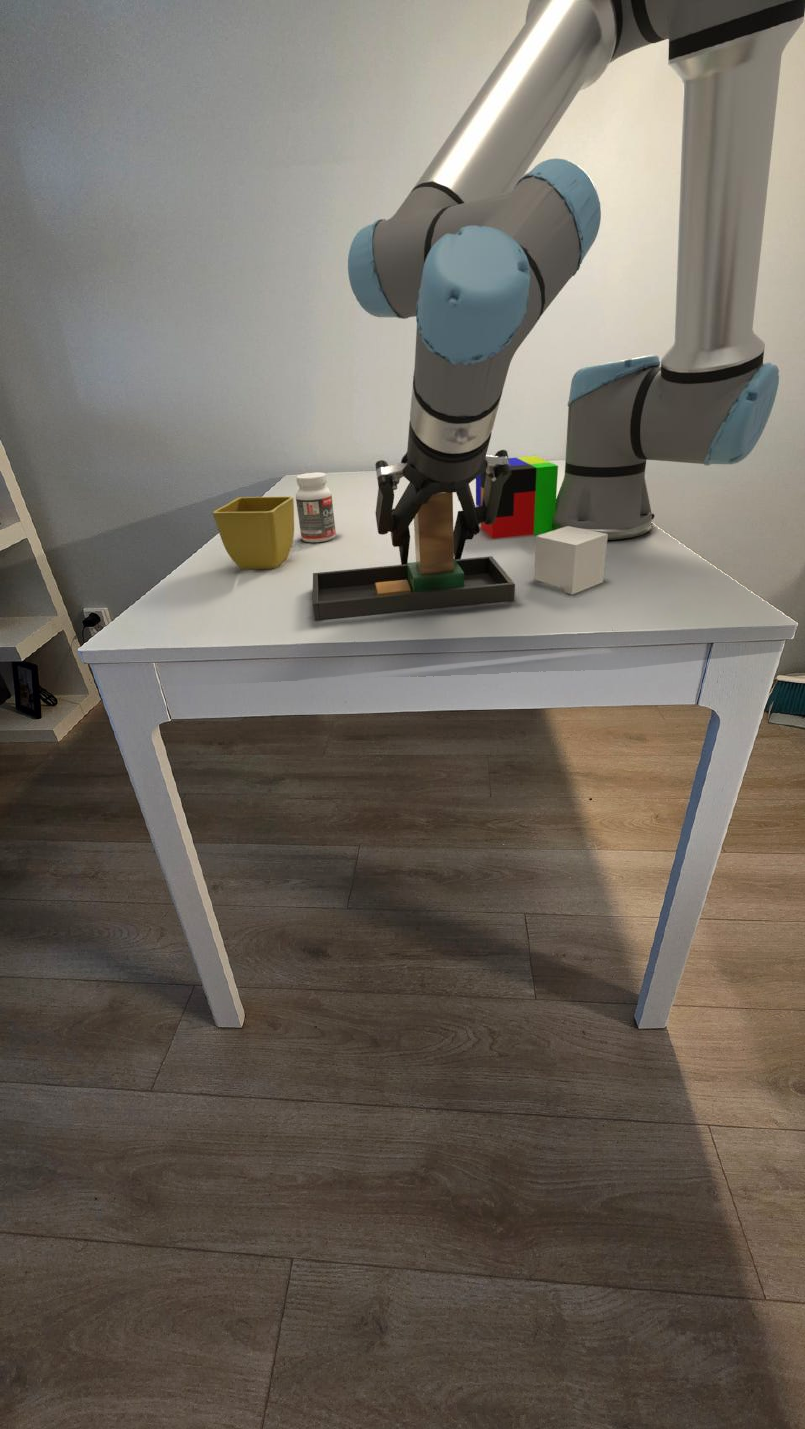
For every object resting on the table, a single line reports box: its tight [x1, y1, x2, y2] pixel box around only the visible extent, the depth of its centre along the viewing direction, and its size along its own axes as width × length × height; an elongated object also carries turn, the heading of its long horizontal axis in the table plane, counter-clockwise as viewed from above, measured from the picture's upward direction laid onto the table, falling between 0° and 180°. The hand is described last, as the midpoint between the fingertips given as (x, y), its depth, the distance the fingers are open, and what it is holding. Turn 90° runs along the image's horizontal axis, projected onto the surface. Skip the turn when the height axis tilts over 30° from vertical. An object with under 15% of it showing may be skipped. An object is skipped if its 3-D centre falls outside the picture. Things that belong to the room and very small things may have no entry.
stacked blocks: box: [407, 492, 464, 592], centre depth 75 cm, size 6×6×12 cm
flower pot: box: [212, 496, 295, 570], centre depth 92 cm, size 9×9×9 cm
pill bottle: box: [295, 471, 337, 543], centre depth 103 cm, size 6×6×10 cm
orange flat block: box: [375, 580, 411, 596], centre depth 78 cm, size 4×4×1 cm
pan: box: [312, 555, 516, 622], centre depth 78 cm, size 23×11×3 cm, turn 97°
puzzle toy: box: [475, 455, 559, 540], centre depth 102 cm, size 10×10×10 cm
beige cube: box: [533, 526, 608, 596], centre depth 79 cm, size 6×6×6 cm
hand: (429, 552), depth 80 cm, fingers closed on stacked blocks, 6 cm apart
